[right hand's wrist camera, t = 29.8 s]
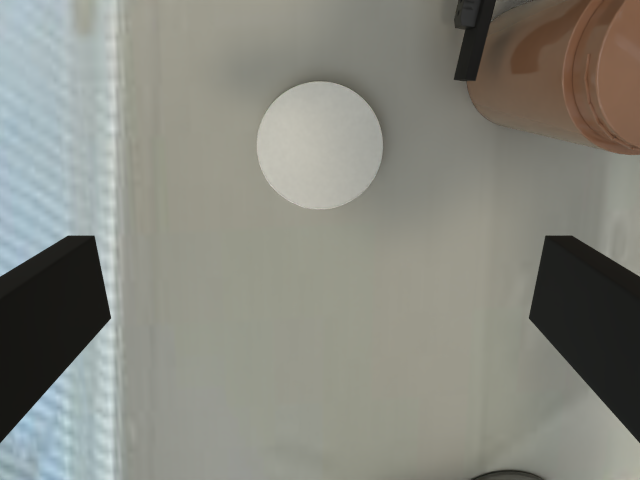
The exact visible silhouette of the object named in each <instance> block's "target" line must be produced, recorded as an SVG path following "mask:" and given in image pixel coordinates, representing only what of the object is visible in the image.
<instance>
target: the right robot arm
mask: <svg viewBox="0 0 640 480" xmlns="http://www.w3.org/2000/svg"><path fill="white" fill-rule="evenodd" d="M110 319H111V315H110V310H109V305H108V300H107V295H106V291H105V286H104V281H103V276H102V271H101V266H100V261H99V256H98V251H97V246H96V241H95V236H67V237H65V238H63V239H62V240H60V241H59V242H57V243H55V244H54V245H52V246H50V247H49V248H47V249H45V250H44V251H42V252H40V253H39V254H37V255H35V256H34V257H32V258H30V259H29V260H27V261H26V262H24V263H22V264H21V265H19V266H17V267H16V268H14V269H12V270H11V271H9V272H7V273H6V274H4V275H2V276H1V277H0V443H1V442H2V440H3V439H4V438H5V437H6V436H7V435H8V434H9V433H10V431H11V430H12V429H13V428H14V427H15V426H16V425H17V424H18V422H19V421H20V420H21V419H22V418H23V417H24V416H25V414H26V413H27V412H28V411H29V410H30V409H31V408H32V407H33V405H34V404H35V403H36V402H37V401H38V400H39V399H40V398H41V396H42V395H43V394H44V393H45V392H46V391H47V390H48V389H49V387H50V386H51V385H52V384H53V383H54V382H55V381H56V380H57V378H58V377H59V376H60V375H61V374H62V373H63V372H64V371H65V369H66V368H67V367H68V366H69V365H70V364H71V363H72V362H73V360H74V359H75V358H76V357H77V356H78V355H79V354H80V353H81V351H82V350H83V349H84V348H85V347H86V346H87V345H88V344H89V342H90V341H91V340H92V339H93V338H94V337H95V336H96V335H97V333H98V332H99V331H100V330H101V329H102V328H103V327H104V326H105V324H106V323H107V322H108V321H109V320H110ZM529 319H530V320H531V321H532V322H533V323H534V324H535V326H536V327H537V328H538V329H539V330H540V331H541V332H542V333H543V335H544V336H545V337H546V338H547V339H548V340H549V341H550V342H551V344H552V345H553V346H554V347H555V348H556V349H557V350H558V351H559V353H560V354H561V355H562V356H563V357H564V358H565V359H566V360H567V362H568V363H569V364H570V365H571V366H572V367H573V368H574V369H575V371H576V372H577V373H578V374H579V375H580V376H581V377H582V378H583V380H584V381H585V382H586V383H587V384H588V385H589V386H590V387H591V389H592V390H593V391H594V392H595V393H596V394H597V395H598V396H599V398H600V399H601V400H602V401H603V402H604V403H605V404H606V405H607V407H608V408H609V409H610V410H611V411H612V412H613V413H614V415H615V416H616V417H617V418H618V419H619V420H620V421H621V422H622V424H623V425H624V426H625V427H626V428H627V429H628V430H629V431H630V433H631V434H632V435H633V436H634V437H635V438H636V439H637V440H638V442H639V443H640V277H639V276H638V275H636V274H634V273H633V272H631V271H629V270H628V269H626V268H624V267H623V266H621V265H619V264H618V263H616V262H614V261H613V260H611V259H610V258H608V257H606V256H605V255H603V254H601V253H600V252H598V251H596V250H595V249H593V248H591V247H590V246H588V245H586V244H585V243H583V242H581V241H580V240H578V239H577V238H575V237H573V236H545V241H544V246H543V251H542V256H541V261H540V266H539V271H538V276H537V281H536V286H535V291H534V295H533V300H532V305H531V310H530V315H529ZM474 480H543V479H541V478H539V477H537V476H535V475H532V474H528V473H524V472H515V471H505V472H497V473H491V474H487V475H484V476H481V477H479V478H476V479H474Z"/></svg>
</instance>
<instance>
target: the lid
mask: <svg viewBox="0 0 640 480" xmlns="http://www.w3.org/2000/svg"><path fill="white" fill-rule="evenodd" d="M257 155H258V161H259V164H260V167H261V170H262V172H263V174H264V176H265V178H266V180H267V181H268V183H269V184H270V185H271V186H272V188H273V189H274V190H275V191H276V192H277V193H278V194H279V195H281V196H282V197H283V198H285V199H286V200H288V201H290V202H291V203H293V204H296V205H298V206H301V207H305V208H309V209H331V208H335V207H339V206H342V205H344V204H347V203H349V202H350V201H352V200H354V199H355V198H357V197H358V196H359V195H361V194H362V193H363V192H364V191H365V190H366V189H367V188H368V186H369V185H370V184H371V182H372V181H373V179H374V178H375V176H376V174H377V172H378V170H379V167H380V164H381V160H382V155H383V136H382V131H381V127H380V124H379V121H378V119H377V117H376V115H375V113H374V111H373V110H372V108H371V107H370V105H369V104H368V103H367V102H366V101H365V100H364V99H363V98H362V97H361V96H360V95H358V94H357V93H356V92H354V91H353V90H351V89H349V88H347V87H345V86H343V85H340V84H337V83H333V82H326V81H314V82H307V83H303V84H300V85H297V86H295V87H293V88H291V89H289V90H287V91H286V92H284V93H283V94H281V95H280V96H279V97H278V98H277V99H276V100H275V101H274V102H273V103H272V104H271V105H270V107H269V108H268V110H267V111H266V113H265V115H264V117H263V118H262V121H261V124H260V126H259V130H258V135H257Z"/></svg>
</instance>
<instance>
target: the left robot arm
mask: <svg viewBox="0 0 640 480" xmlns="http://www.w3.org/2000/svg"><path fill="white" fill-rule="evenodd" d="M495 2H496V0H459V1H458V5H457V11H456V14H455V19H454V22H455V28H459V29H466V30H465V34H464V38H463V42H462V47H461V51H460V55H459V59H458V64H457V68H456V72H455V77H454V80H460V81H476V77H477V73H478V70H479V66H480V62H481V58H482V54H483V50H484V46H485V42H486V38H487V34H488V30H489V26H490V22H491V18H492V14H493V10H494V6H495Z"/></svg>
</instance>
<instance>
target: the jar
mask: <svg viewBox="0 0 640 480" xmlns="http://www.w3.org/2000/svg"><path fill="white" fill-rule="evenodd" d="M467 87H468V92H469V95H470V98H471V100H472V102H473V104H474V106H475V107H476V109H477V110H478V111H479V112H480V113H481V115H483V116H484V117H485V118H486V119H487V120H489V121H491V122H492V123H495V124H497V125H500V126H504V127H508V128H512V129H516V130H521V131H525V132H529V133H533V134H538V135H542V136H546V137H550V138H554V139H559V140H563V141H567V142H571V143H576V144H580V145H584V146H588V147H593V148H597V149H601V150H605V151H610V152H614V153H618V154H626V155H640V0H533V1H530V2H527V3H525V4H522V5H520V6H517V7H515V8H512V9H510V10H508V11H506V12H504V13H502V14H501V15H499V16H498V17H497V18H495V19H494V20H493V21H492V22H491V23H490V26H489V30H488V34H487V38H486V42H485V46H484V50H483V54H482V58H481V62H480V66H479V70H478V73H477V77H476V81H467Z"/></svg>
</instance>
